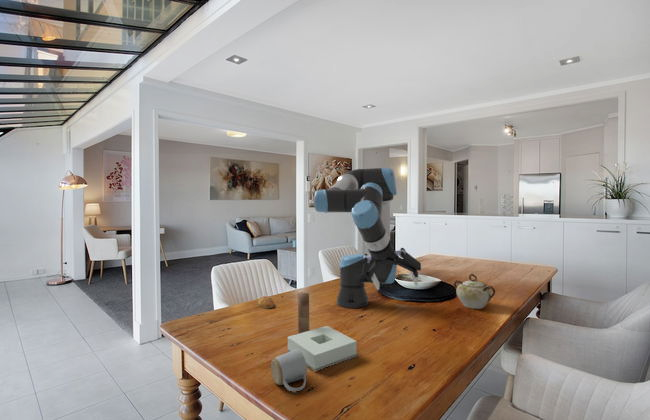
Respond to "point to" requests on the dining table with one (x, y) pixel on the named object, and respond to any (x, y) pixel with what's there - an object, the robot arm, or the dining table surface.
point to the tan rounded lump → (266, 302)
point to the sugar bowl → (473, 293)
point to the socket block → (323, 347)
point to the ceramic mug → (289, 369)
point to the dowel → (303, 312)
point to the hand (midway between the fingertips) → (397, 284)
